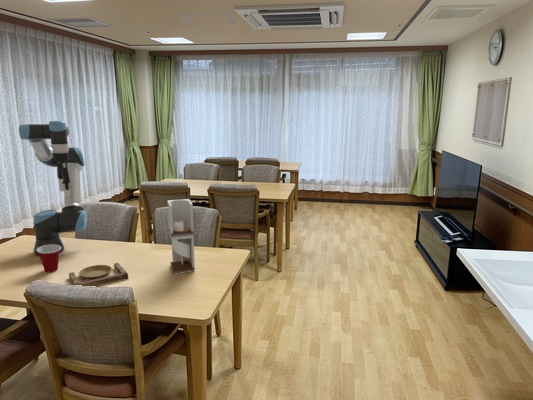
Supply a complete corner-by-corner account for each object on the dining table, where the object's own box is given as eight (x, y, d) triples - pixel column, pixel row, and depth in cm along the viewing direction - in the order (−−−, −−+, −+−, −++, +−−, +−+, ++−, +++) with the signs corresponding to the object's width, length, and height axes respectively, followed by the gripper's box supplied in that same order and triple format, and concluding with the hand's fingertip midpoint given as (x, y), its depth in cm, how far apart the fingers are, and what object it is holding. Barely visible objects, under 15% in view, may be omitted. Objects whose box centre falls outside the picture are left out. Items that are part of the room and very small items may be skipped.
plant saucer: (73, 281, 185) (72, 276, 185) (89, 269, 200) (88, 264, 199) (103, 282, 184) (103, 277, 184) (117, 270, 199) (116, 265, 198)
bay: (69, 277, 188) (68, 273, 188) (118, 267, 201) (117, 262, 201) (76, 290, 175) (75, 285, 175) (128, 278, 188) (127, 273, 188)
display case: (170, 265, 204) (167, 200, 196) (191, 263, 208) (188, 199, 200) (173, 274, 194) (170, 205, 186) (194, 271, 197) (192, 204, 189)
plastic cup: (50, 276, 190) (47, 252, 187) (34, 272, 194) (31, 249, 191) (68, 267, 200) (66, 245, 197) (52, 264, 204) (49, 242, 201)
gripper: (48, 150, 204) (53, 190, 209) (56, 155, 184) (61, 199, 189) (64, 149, 208) (68, 188, 213) (73, 154, 189) (78, 197, 193)
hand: (65, 193), depth 201 cm, fingers open, 13 cm apart
